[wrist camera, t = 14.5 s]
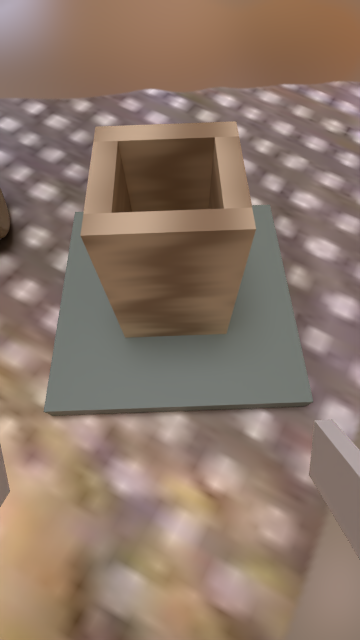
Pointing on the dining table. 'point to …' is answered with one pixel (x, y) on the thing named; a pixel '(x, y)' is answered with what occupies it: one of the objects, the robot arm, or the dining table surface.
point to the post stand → (178, 346)
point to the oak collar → (169, 225)
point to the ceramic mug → (3, 217)
